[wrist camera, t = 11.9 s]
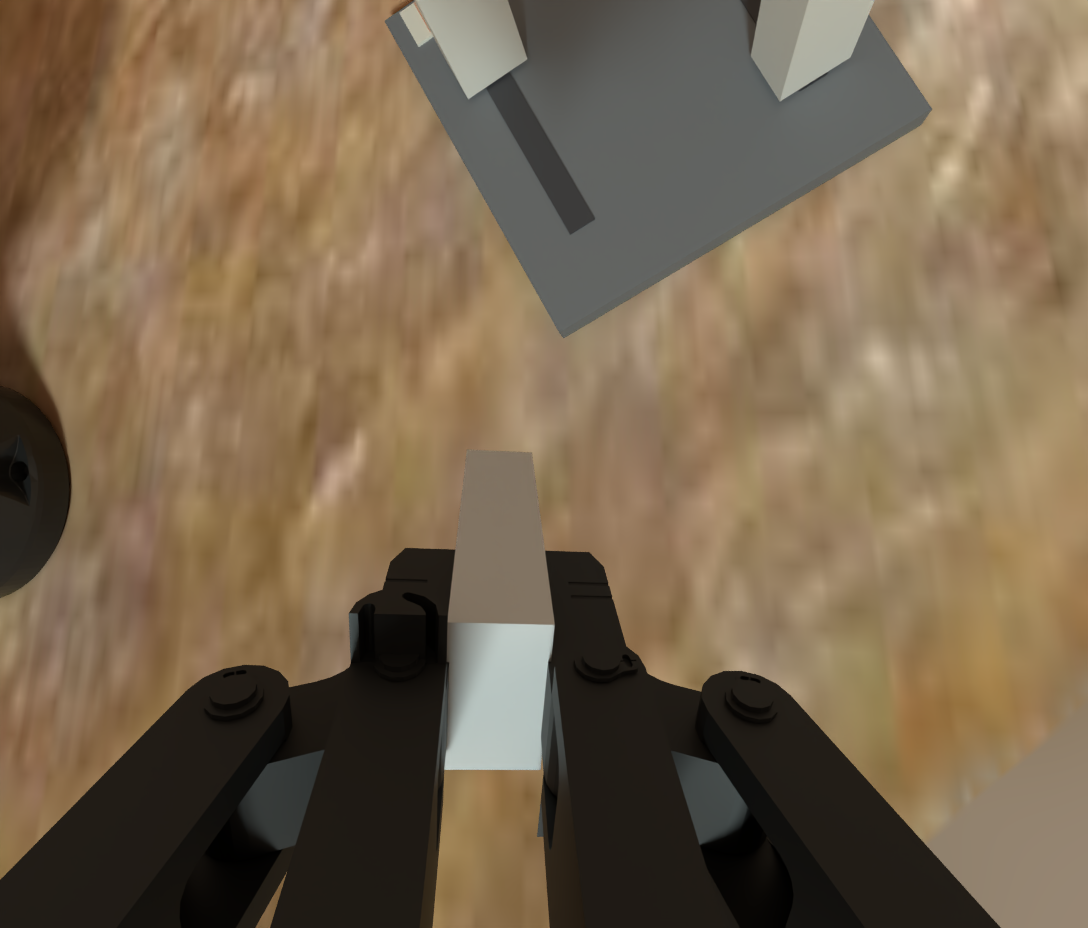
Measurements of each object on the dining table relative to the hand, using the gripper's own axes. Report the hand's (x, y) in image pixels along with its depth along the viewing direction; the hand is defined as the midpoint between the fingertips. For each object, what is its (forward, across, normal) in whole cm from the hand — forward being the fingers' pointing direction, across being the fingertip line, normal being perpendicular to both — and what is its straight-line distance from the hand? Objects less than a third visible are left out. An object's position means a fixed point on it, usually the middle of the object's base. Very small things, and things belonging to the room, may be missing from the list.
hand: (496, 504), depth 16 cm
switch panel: (+29, +7, +14) cm, 33 cm away
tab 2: (+25, +15, +15) cm, 33 cm away
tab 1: (+30, -1, +14) cm, 33 cm away
